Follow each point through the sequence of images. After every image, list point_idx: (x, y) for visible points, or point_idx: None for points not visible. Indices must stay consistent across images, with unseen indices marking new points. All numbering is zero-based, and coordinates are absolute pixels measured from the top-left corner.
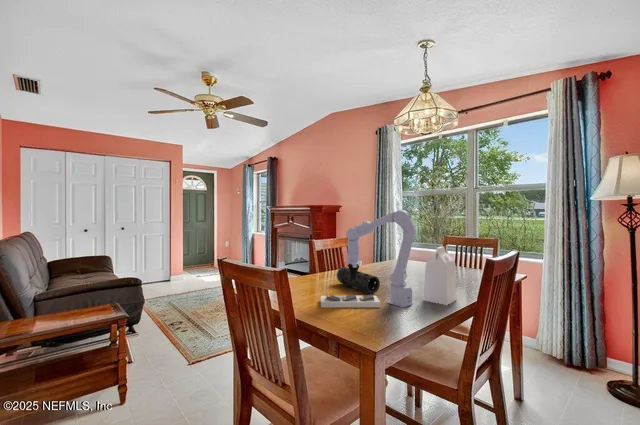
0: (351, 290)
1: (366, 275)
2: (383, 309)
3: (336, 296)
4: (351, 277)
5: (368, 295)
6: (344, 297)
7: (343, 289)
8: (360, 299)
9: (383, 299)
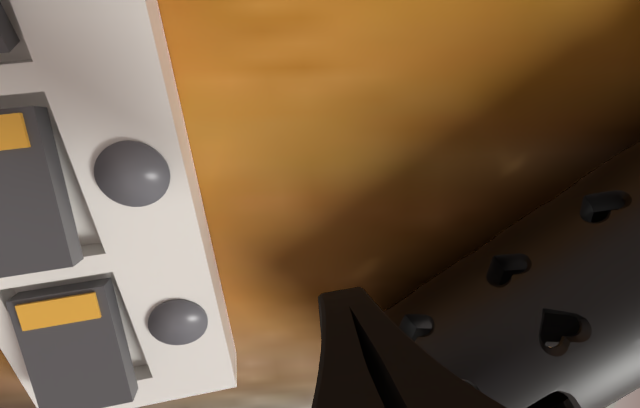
0: (528, 163)
1: (568, 399)
2: (24, 405)
3: (98, 10)
4: (321, 318)
5: (115, 370)
6: (10, 131)
7: (577, 83)
8: (51, 292)
9: (275, 388)
